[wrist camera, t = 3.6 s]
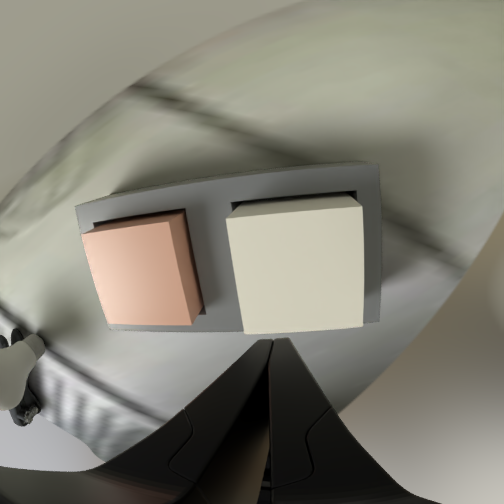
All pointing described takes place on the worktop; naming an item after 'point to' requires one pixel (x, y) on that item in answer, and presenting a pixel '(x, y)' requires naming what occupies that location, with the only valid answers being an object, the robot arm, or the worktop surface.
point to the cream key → (298, 263)
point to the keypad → (216, 235)
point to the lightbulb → (17, 369)
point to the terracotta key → (145, 269)
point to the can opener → (28, 402)
